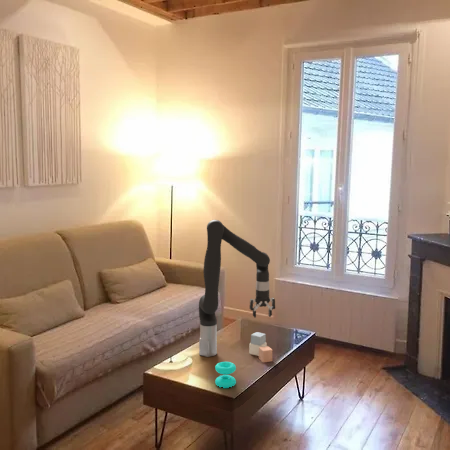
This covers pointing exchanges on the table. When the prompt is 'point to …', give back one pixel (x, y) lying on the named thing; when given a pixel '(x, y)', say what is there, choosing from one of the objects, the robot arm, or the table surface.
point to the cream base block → (255, 348)
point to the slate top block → (258, 338)
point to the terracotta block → (265, 354)
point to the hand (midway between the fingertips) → (262, 316)
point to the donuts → (225, 369)
